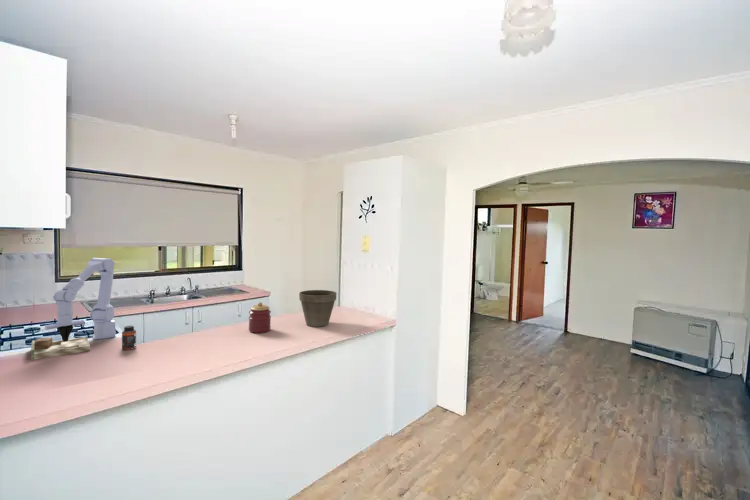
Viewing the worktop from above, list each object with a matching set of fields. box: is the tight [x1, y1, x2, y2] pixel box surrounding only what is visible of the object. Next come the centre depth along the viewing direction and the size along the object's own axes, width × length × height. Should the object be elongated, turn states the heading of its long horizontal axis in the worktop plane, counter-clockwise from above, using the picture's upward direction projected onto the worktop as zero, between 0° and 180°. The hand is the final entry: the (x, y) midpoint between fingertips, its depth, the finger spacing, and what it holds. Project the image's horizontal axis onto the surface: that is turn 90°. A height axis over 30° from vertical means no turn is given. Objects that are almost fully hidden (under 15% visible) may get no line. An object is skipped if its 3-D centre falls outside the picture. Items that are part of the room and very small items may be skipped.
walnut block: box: [35, 337, 53, 350], centre depth 172 cm, size 5×5×4 cm
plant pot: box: [298, 289, 337, 328], centre depth 239 cm, size 25×25×22 cm
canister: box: [248, 301, 272, 334], centre depth 219 cm, size 13×13×18 cm
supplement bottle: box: [121, 325, 137, 351], centre depth 181 cm, size 6×6×11 cm
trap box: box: [30, 336, 91, 361], centre depth 175 cm, size 21×18×4 cm
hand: (65, 341), depth 176 cm, fingers closed
